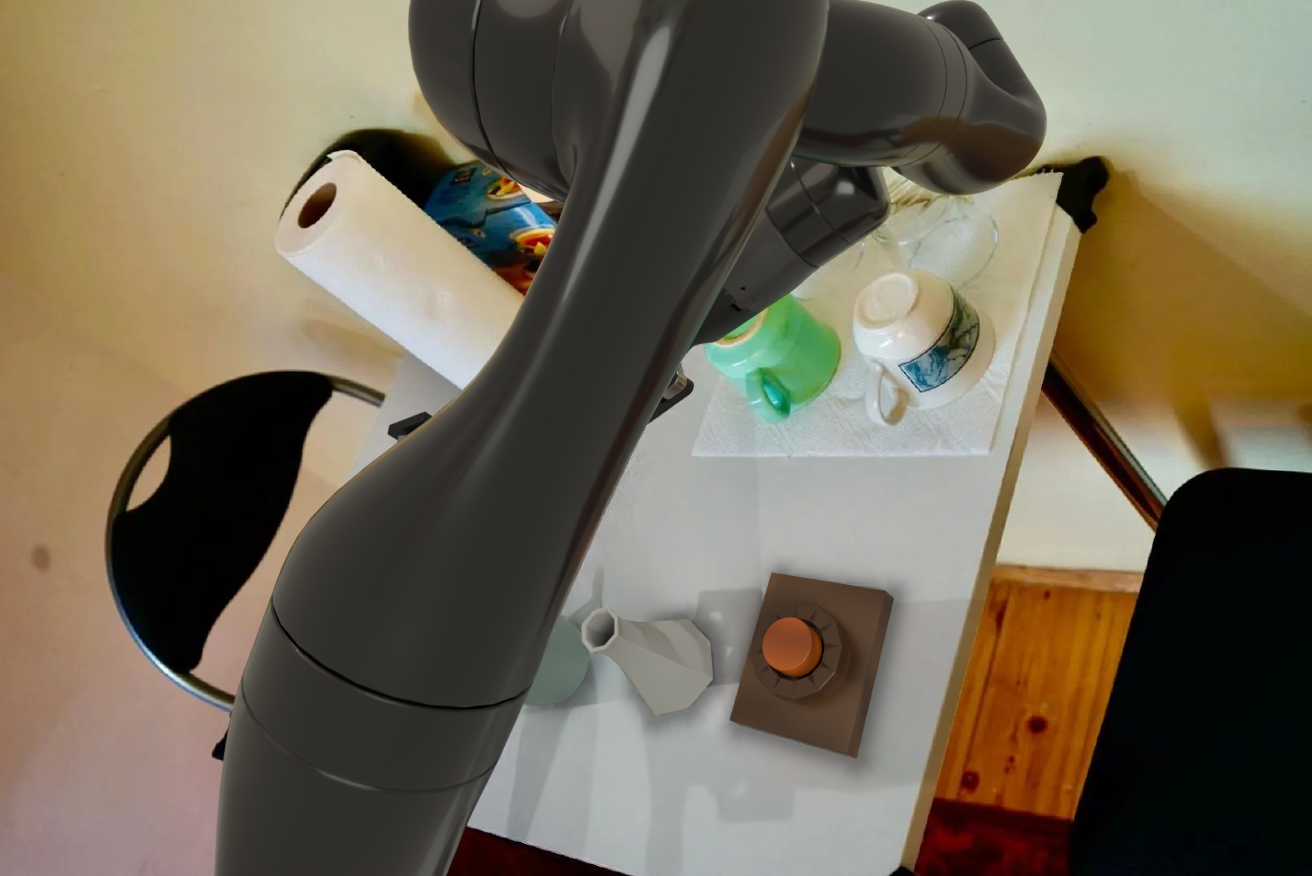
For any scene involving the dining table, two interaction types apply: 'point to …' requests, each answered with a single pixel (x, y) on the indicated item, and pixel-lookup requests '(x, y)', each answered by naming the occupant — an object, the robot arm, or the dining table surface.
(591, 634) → the flask
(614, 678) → the dining table surface
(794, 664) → the button
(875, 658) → the brown button mount
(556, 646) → the cup
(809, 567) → the dining table surface
